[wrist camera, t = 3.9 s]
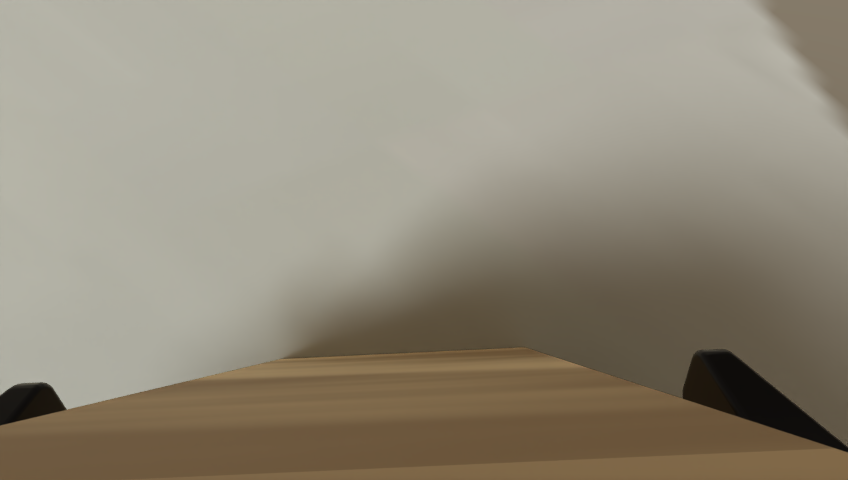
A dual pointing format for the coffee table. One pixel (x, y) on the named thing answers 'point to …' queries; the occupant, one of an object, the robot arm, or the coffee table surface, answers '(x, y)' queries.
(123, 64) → the coffee table surface
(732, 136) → the coffee table surface
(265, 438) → the wooden block
